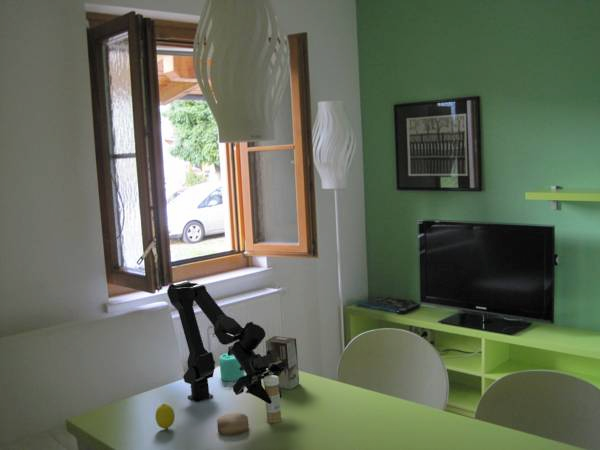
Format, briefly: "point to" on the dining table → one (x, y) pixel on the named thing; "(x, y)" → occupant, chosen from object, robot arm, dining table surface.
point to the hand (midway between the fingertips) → (275, 400)
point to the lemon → (165, 416)
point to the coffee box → (285, 359)
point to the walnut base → (232, 424)
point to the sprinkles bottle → (273, 398)
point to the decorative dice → (230, 368)
